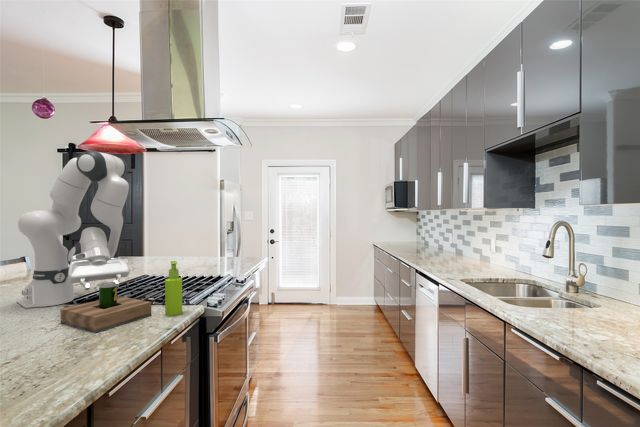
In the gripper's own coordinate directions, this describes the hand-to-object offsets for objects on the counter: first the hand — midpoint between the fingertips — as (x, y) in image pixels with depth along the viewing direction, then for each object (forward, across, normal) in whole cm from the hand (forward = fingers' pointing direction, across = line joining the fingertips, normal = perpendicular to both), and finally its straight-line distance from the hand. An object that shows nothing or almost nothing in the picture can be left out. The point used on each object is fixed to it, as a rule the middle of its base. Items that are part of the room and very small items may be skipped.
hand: (102, 287), depth 128 cm
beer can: (+13, 0, 0) cm, 13 cm away
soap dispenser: (+21, -20, +6) cm, 29 cm away
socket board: (+14, 0, 0) cm, 14 cm away
